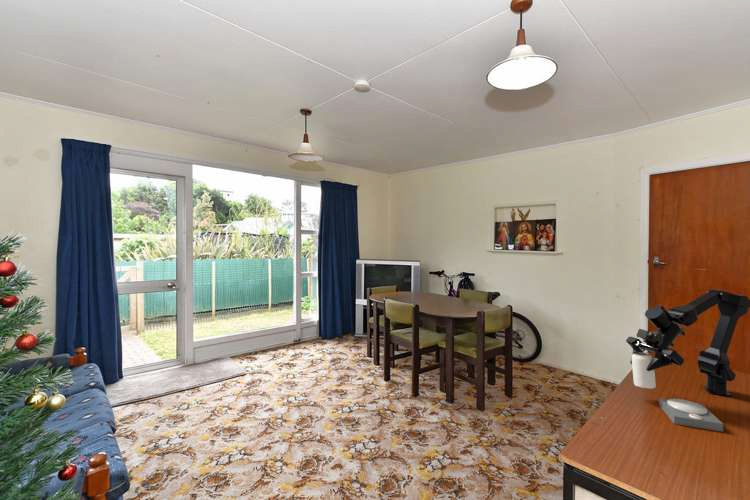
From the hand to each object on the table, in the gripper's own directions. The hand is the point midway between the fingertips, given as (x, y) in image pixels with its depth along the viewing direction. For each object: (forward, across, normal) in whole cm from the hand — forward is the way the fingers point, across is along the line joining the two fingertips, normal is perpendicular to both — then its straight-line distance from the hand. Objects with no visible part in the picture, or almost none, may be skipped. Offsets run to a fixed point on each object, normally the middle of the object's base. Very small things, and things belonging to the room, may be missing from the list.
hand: (639, 367), depth 128 cm
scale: (+5, +14, +12) cm, 19 cm away
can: (+4, +1, +6) cm, 7 cm away
